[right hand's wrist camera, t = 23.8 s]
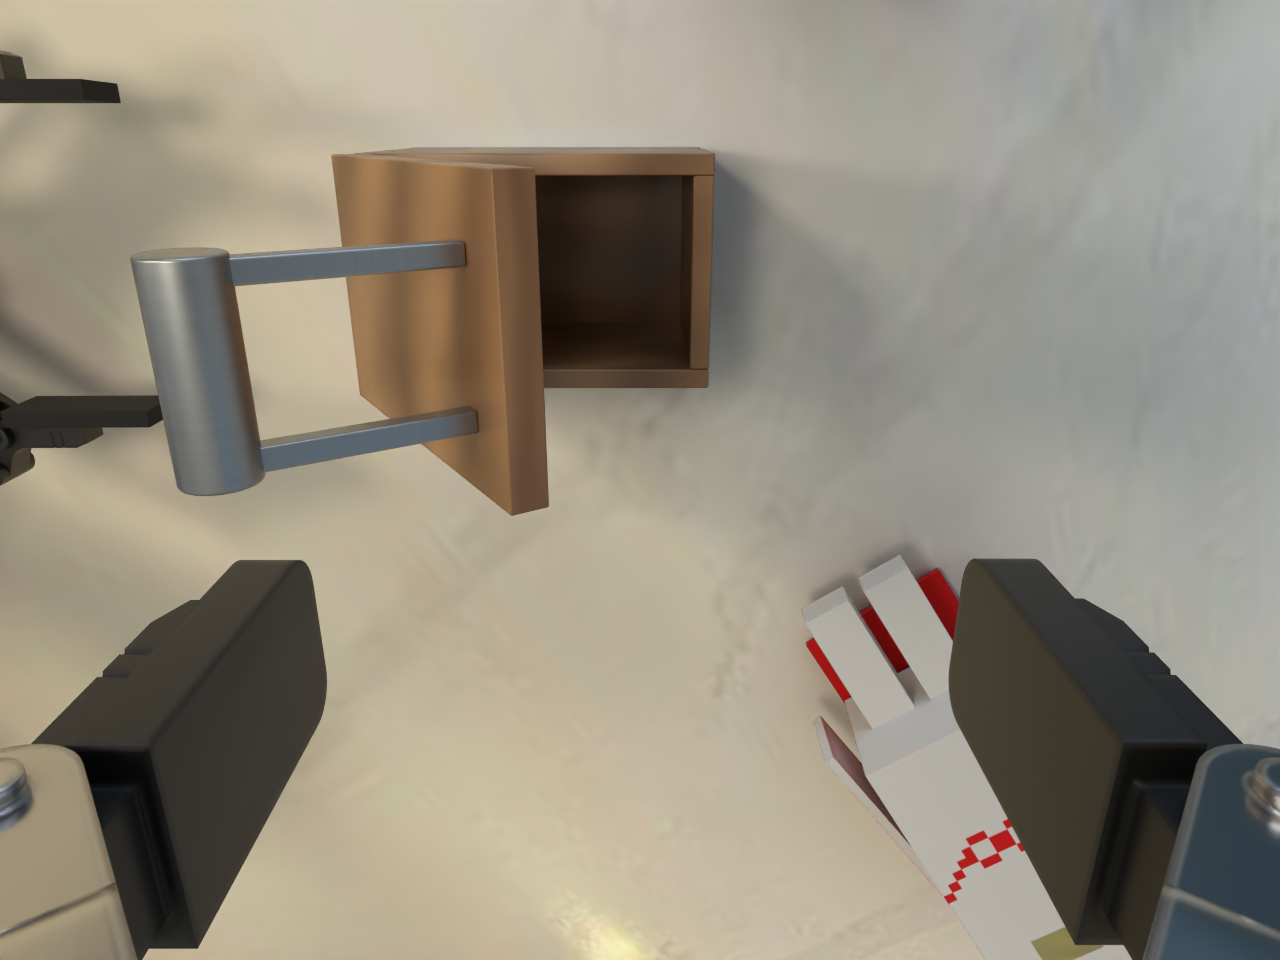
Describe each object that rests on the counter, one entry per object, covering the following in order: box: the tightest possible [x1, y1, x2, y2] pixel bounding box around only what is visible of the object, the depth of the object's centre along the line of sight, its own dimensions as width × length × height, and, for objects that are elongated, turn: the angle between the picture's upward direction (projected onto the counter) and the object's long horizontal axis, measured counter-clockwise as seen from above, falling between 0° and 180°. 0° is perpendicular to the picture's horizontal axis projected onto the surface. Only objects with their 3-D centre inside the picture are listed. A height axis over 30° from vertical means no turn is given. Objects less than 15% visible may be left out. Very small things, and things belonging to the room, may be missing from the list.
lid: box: [131, 154, 549, 516], centre depth 28 cm, size 15×10×9 cm
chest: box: [356, 147, 715, 388], centre depth 42 cm, size 14×10×11 cm
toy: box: [801, 555, 1132, 960], centre depth 53 cm, size 12×13×30 cm
